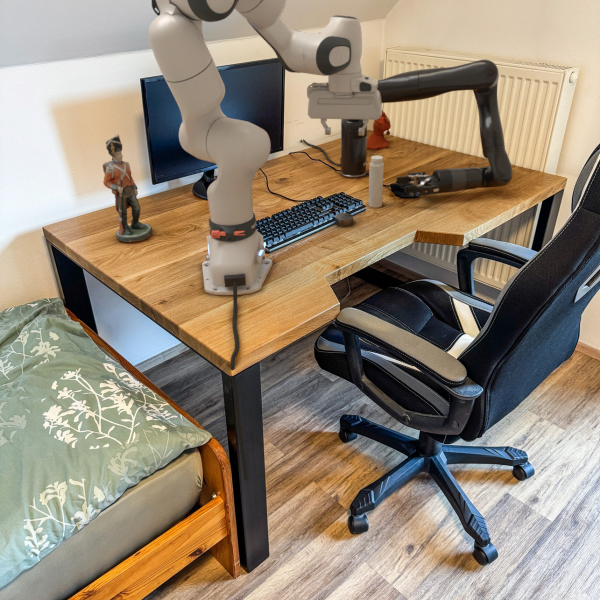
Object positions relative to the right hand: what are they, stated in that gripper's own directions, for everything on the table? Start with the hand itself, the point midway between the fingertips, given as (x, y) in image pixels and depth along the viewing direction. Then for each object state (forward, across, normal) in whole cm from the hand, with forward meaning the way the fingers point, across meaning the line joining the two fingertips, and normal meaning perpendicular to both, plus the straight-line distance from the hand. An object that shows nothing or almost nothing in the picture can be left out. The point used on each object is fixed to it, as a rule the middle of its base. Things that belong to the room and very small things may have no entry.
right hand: (400, 185), depth 180 cm
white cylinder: (+8, 0, +6) cm, 10 cm away
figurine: (+84, +6, +6) cm, 85 cm away
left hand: (+21, +11, -21) cm, 32 cm away
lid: (+21, +11, +4) cm, 24 cm away
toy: (-7, -62, +6) cm, 63 cm away
